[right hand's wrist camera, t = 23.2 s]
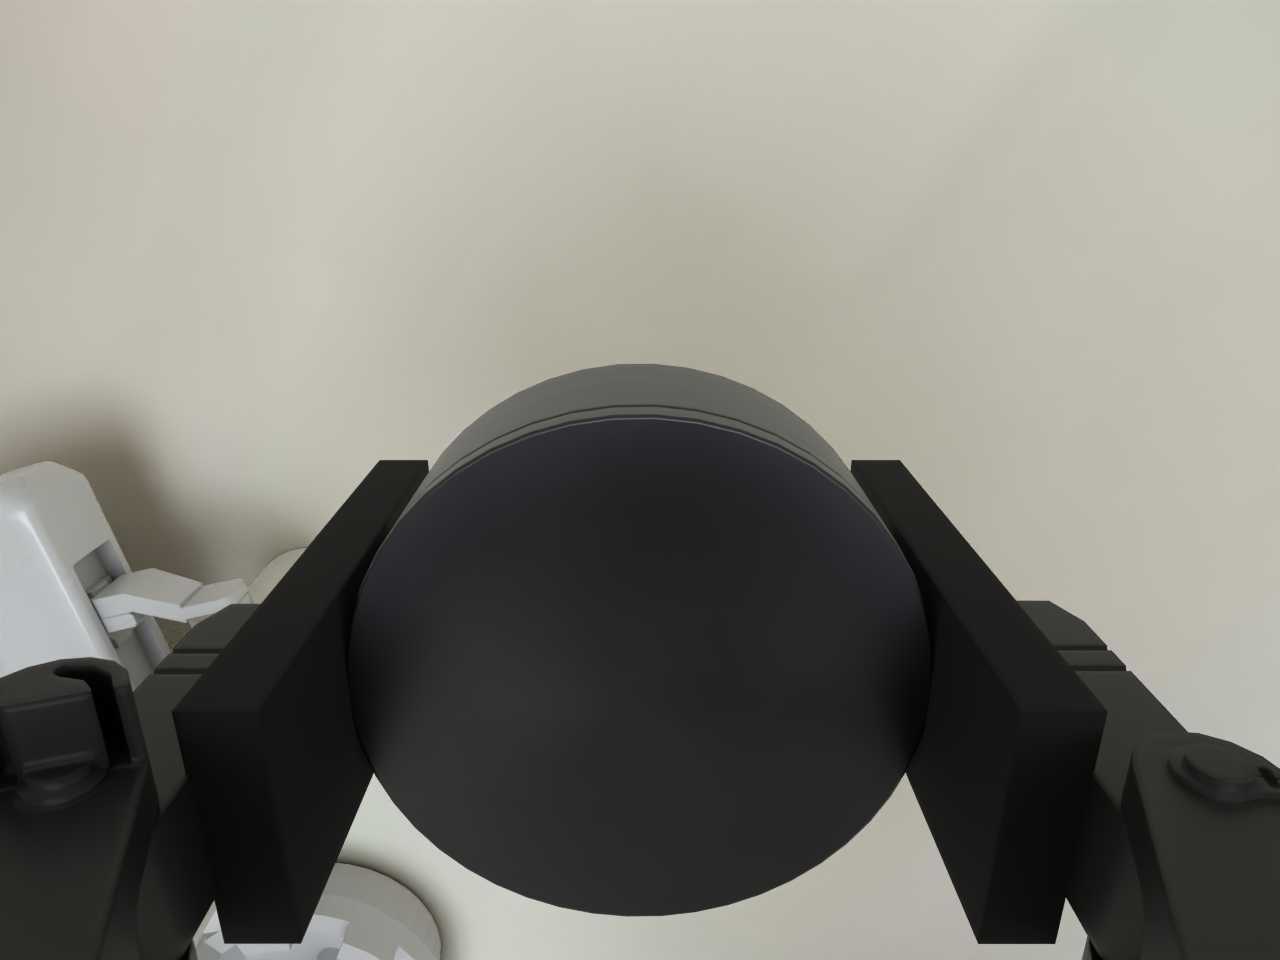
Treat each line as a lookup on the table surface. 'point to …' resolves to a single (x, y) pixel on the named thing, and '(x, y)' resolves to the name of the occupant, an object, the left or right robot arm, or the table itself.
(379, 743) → the lid
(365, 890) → the flag stand
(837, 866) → the table surface
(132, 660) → the left robot arm
